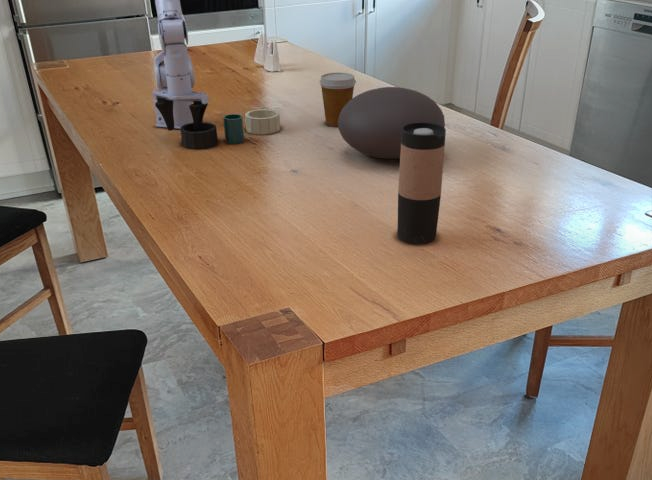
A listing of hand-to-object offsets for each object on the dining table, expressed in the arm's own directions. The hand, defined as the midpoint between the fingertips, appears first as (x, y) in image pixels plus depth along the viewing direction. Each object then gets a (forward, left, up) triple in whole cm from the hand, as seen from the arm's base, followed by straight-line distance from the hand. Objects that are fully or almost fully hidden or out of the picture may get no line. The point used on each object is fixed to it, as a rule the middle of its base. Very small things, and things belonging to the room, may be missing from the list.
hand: (184, 130), depth 180 cm
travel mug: (+68, -36, -3) cm, 78 cm away
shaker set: (-12, +79, -3) cm, 79 cm away
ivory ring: (+14, +16, -3) cm, 21 cm away
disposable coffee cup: (+31, +27, -3) cm, 41 cm away
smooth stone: (+51, +7, -3) cm, 52 cm away
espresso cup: (+11, +5, -3) cm, 13 cm away
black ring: (+4, 0, -3) cm, 5 cm away
